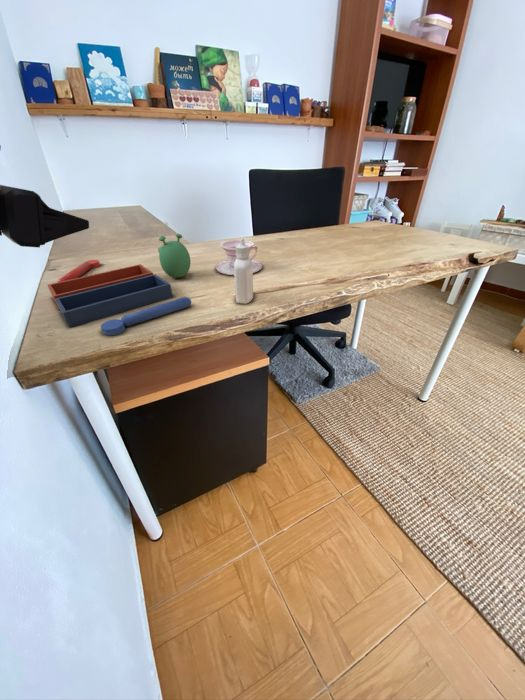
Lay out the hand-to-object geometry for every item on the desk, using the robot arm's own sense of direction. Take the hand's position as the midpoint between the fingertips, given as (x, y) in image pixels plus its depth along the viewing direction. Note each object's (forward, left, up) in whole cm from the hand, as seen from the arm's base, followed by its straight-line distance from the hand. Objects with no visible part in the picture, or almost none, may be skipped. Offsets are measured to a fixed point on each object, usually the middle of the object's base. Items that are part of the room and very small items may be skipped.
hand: (75, 220), depth 45 cm
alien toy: (+19, +11, -17) cm, 28 cm away
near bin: (+3, +5, -17) cm, 18 cm away
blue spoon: (+6, -5, -17) cm, 19 cm away
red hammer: (+1, +29, -17) cm, 34 cm away
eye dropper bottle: (+24, -10, -17) cm, 31 cm away
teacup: (+34, +6, -17) cm, 39 cm away
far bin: (+3, +14, -17) cm, 22 cm away
